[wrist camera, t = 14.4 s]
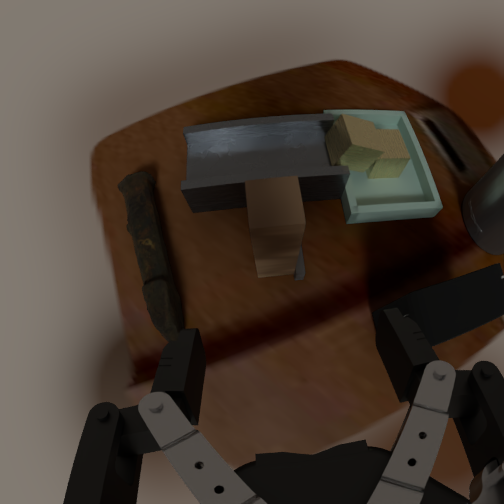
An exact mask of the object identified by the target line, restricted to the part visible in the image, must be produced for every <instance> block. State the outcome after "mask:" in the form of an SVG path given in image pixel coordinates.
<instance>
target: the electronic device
mask: <svg viewBox="0 0 504 504" xmlns="http://www.w3.org/2000/svg"><path fill="white" fill-rule="evenodd" d="M502 275H503V272H502V269H501V266H500V263H498V264H494V265H491V266H488V267H486V268H483V269H480V270H477V271H474V272H471V273H469V274H466V275H463V276H460V277H457V278H454V279H451V280H448V281H445V282H441V283H438V284H435V285H432V286H429V287H426V288H422V289H419V290H416V291H413V292H411V293H409V294H407V295H405V296H403V297H401V298H399V299H398V300H396V301H394V302H392V303H390V304H388V305H386V306H384V307H382V308H380V309H378V310H376V311H374V312H373V313H372V314H373V318H374V322H375V327H376V331H377V326H378V321H379V314H380V311H381V310H386V309H392V308H398V309H399V311H400V312H401V314H402V316H403V317H404V318H405V317H409V318H410V319H412V320H413V321H414V322H416V323H417V324H418V326H419V328H420V329H421V331H422V332H423V334H424V336H425V338H426V339H427V340H428V342H429V344H430V345H431V347H432V346H435V345H438V344H440V343H443V342H445V341H447V340H450V339H452V338H455V337H457V336H459V335H462V334H464V333H466V332H468V331H471V330H473V329H475V328H477V327H480V326H482V325H484V324H486V323H488V322H490V321H492V320H494V319H496V318H498V317H500V316H502V315H504V279H503V278H504V276H502ZM502 279H503V280H502Z"/></svg>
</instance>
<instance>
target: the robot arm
mask: <svg viewBox="0 0 504 504" xmlns="http://www.w3.org/2000/svg"><path fill="white" fill-rule="evenodd" d="M462 210H463V218H464V222H465V225H466V227H467V230H468V232H469V233H470V235H471V237H472V238H473V240H474V241H475V242H476V244H477V245H478V246H479V247H480V248H482V249H483V250H485V251H486V252H488V253H490V254H494V255H500V254H503V253H504V154H503V155H502V156H501V157H500V158H499V160H498V161H497V162H496V163H495V164H494V165H493V166H492V167H491V168H490V169H489V171H488V172H487V173H486V174H485V175H484V176H483V177H482V178H481V179H480V180H479V181H478V182H477V183H476V184H475V185H474V186H473V187H472V188H471V189H470V190H469V192H468V193H467V194H466V195H465V197H464V200H463V206H462ZM376 347H377V350H378V352H379V354H380V357H381V359H382V361H383V363H384V366H385V368H386V370H387V373H388V375H389V377H390V380H391V382H392V385H393V387H394V389H395V392H396V394H397V397H398V399H399V402H400V403H401V402H405V401H409V403H410V407H409V409H408V412H407V414H406V417H405V419H404V421H403V424H402V426H401V429H400V431H399V433H398V435H397V438H396V440H395V442H394V444H393V446H392V448H391V450H390V451H388V450H385V449H382V448H378V447H369V446H367V443H366V440H362V441H356V442H351V443H346V444H340V445H337V446H335V447H332V448H330V449H327V450H325V451H322V452H319V453H317V454H313V455H307V454H297V453H288V452H277V453H264V454H256V461H253V462H250V463H247V464H244V465H242V466H241V467H239V468H237V469H235V470H234V471H233V470H232V469H231V468H230V466H229V465H228V464H227V463H226V462H225V461H224V460H223V459H222V457H221V456H220V455H219V454H218V453H217V452H216V451H215V449H214V448H213V447H212V446H211V445H210V443H209V442H208V441H207V440H206V439H205V437H204V436H203V435H202V434H201V433H200V432H199V431H198V430H195V429H194V427H193V426H192V425H198V421H199V414H200V406H201V398H202V391H203V384H204V376H205V369H206V356H205V351H204V348H203V344H202V340H201V336H200V332H199V330H198V328H193V329H181V330H180V333H179V336H178V340H177V341H170V342H169V343H168V344H167V345H166V346H165V348H164V349H163V352H162V355H161V359H160V362H159V367H158V369H157V372H156V376H155V379H154V383H153V386H152V390H151V393H150V394H148V395H146V396H145V397H143V398H142V399H141V401H140V403H139V405H136V406H132V407H128V408H123V409H118V408H117V407H116V405H114V404H112V403H109V402H104V403H100V404H97V405H95V406H94V407H93V408H92V409H91V410H90V412H89V414H88V417H87V420H86V423H85V426H84V430H83V433H82V436H81V439H80V442H79V446H78V449H77V453H76V456H75V460H74V463H73V467H72V471H71V474H70V478H69V482H68V486H67V490H66V494H65V499H64V503H63V504H136V502H137V494H138V487H139V479H140V472H141V465H142V458H143V454H144V453H150V452H155V451H160V450H162V451H163V452H164V454H165V456H166V457H167V458H168V460H169V462H170V463H171V464H172V466H173V467H174V469H175V470H176V472H177V473H178V475H179V476H180V477H181V479H182V480H183V481H184V483H185V484H186V485H187V487H188V488H189V490H190V491H191V492H192V494H193V495H194V496H195V497H196V499H197V500H198V501H199V502H200V504H504V378H503V376H502V374H501V373H500V371H499V370H498V368H497V367H496V366H495V365H494V364H493V363H491V362H488V361H480V362H477V363H476V364H475V365H474V367H473V369H472V370H454V368H453V367H452V366H451V365H450V364H449V363H447V362H444V361H440V360H439V359H438V357H437V355H436V354H435V352H434V350H433V349H432V347H431V345H430V344H429V342H428V340H427V339H426V338H425V336H424V334H423V332H422V331H421V329H420V328H419V326H418V324H417V323H416V322H414V321H413V320H412V319H410V318H409V317H405V318H404V317H403V316H402V314H401V312H400V311H399V309H398V308H392V309H386V310H381V311H380V314H379V321H378V326H377V332H376ZM448 418H453V420H454V422H455V425H456V428H457V430H458V433H459V435H460V438H461V441H462V443H463V446H464V449H465V452H466V455H467V458H468V460H469V463H470V466H471V469H472V472H473V476H474V478H473V479H472V481H471V483H470V487H469V490H470V491H469V492H470V493H469V498H470V499H469V500H468V499H467V498H465V497H464V496H462V495H460V494H459V493H456V492H455V491H453V490H452V489H450V488H448V487H447V486H445V485H443V484H442V483H440V482H438V481H436V480H435V479H433V478H432V477H430V476H429V475H430V473H431V470H432V467H433V464H434V462H435V459H436V456H437V453H438V450H439V447H440V444H441V441H442V438H443V435H444V431H445V428H446V425H447V421H448Z"/></svg>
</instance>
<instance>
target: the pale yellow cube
mask: <svg viewBox="0 0 504 504" xmlns="http://www.w3.org/2000/svg"><path fill="white" fill-rule="evenodd" d="M324 138H325V142H326V146H327V149H328V153H329V157H330V161H331V165H332V166H344V165H348V167H349V170H352V171H357V172H365V171H366V170H367V169H368V168H369V167H370V166H371V165H372V164H373V163H374V162H375V161H376V160H377V159H378V158H379V157H380V156H381V155H382V154H383V153H384V149H383V147H382V144H381V141H380V139H379V136H378V133H377V131H376V128H375V126H374V123H373V122H371V121H367V120H364V119H360V118H357V117H353V116H349V115H346V114H341V115H340V117H339V118H338V119H337V121H336V122H335V123H334V125H333V126H332V127H331V129H330V130H329V131H328V133H327V134H326V135H325V137H324Z"/></svg>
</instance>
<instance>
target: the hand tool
mask: <svg viewBox="0 0 504 504" xmlns="http://www.w3.org/2000/svg"><path fill="white" fill-rule="evenodd" d="M155 184H156V182H155V181H154V179H153V177H152V176H151V174H149V173H147V172H143V171H142V172H138V173H134V174H131V175H127V176H126V177H125V178H124V179H123V181H121V182H120V183H119V184H118V188H119V190H120V191H121V192H122V194H123V196H124V198H125V203H126V208H127V214H128V219H127V221H128V225H127V230H128V232H129V233H130V234H131V236H132V239H133V243H134V248H135V253H136V256H137V260H138V264H139V268H140V272H141V276H142V280H143V284H144V286H143V287H142V291H143V295H144V299H145V301H146V303H147V310H148V312H149V314H150V317H151V319H152V322H153V324H154V326H155V327H156V329H157V330H159V332H160V333H161V334H162V336H163V337H164V338H165V339H166V340H167V341H168V342H170V341H177V340H178V336H179V333H180V330H181V329H184V325H183V322H184V320H183V315H182V310H181V301H180V296H179V294H178V292H177V290H176V287H175V284H174V280H173V276H172V272H171V268H170V263H169V259H168V255H167V250H166V246H165V243H164V240H163V235H162V230H161V224H160V218H159V214H158V212H157V207H156V205H155V200H154V195H153V188H154V186H155Z"/></svg>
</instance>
